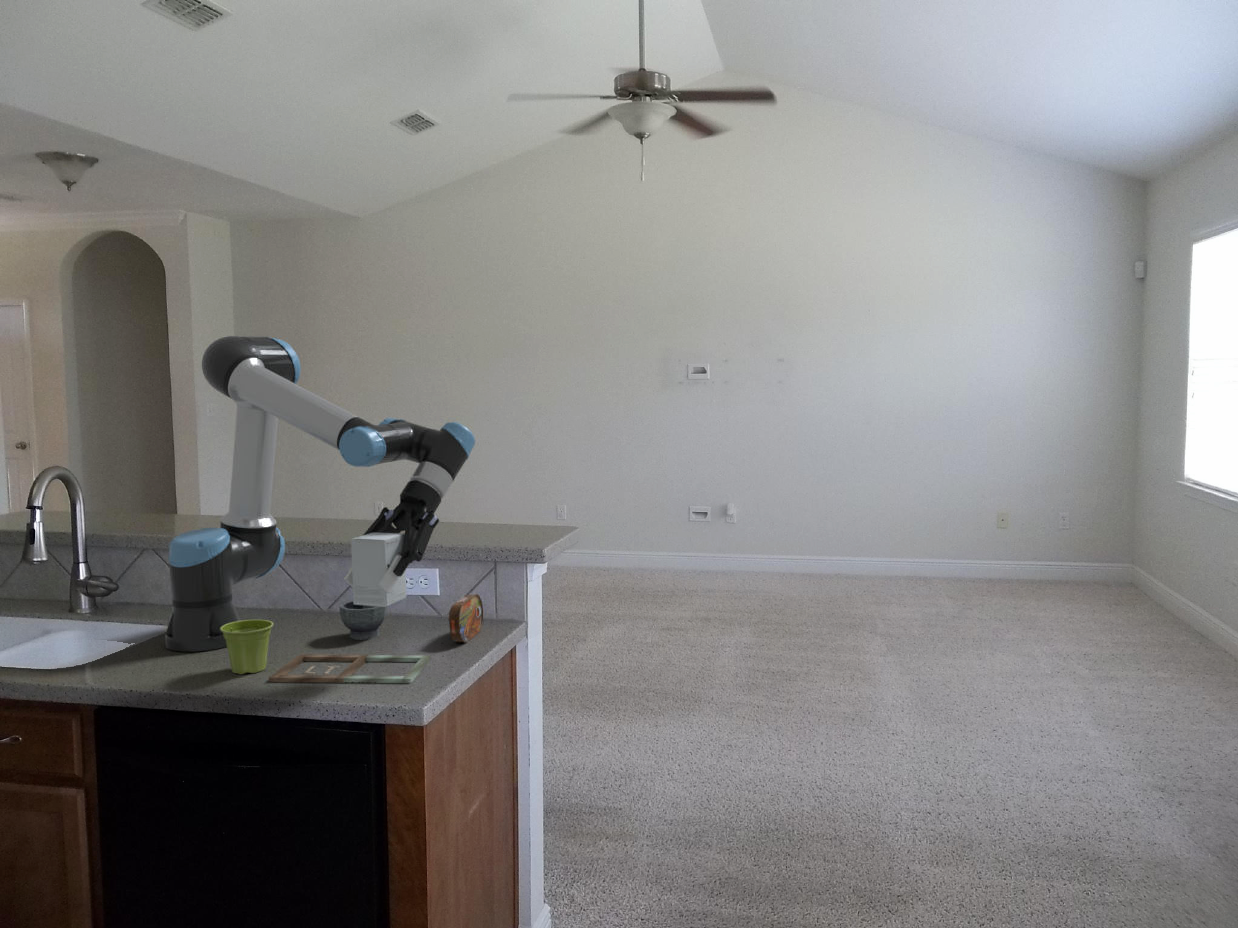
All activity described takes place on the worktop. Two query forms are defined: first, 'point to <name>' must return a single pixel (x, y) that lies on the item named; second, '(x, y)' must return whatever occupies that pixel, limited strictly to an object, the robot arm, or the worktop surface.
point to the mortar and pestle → (362, 619)
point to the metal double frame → (350, 669)
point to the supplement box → (375, 568)
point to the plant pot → (247, 644)
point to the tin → (466, 618)
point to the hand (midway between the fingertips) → (366, 585)
